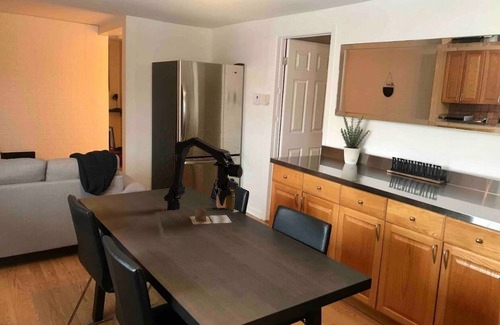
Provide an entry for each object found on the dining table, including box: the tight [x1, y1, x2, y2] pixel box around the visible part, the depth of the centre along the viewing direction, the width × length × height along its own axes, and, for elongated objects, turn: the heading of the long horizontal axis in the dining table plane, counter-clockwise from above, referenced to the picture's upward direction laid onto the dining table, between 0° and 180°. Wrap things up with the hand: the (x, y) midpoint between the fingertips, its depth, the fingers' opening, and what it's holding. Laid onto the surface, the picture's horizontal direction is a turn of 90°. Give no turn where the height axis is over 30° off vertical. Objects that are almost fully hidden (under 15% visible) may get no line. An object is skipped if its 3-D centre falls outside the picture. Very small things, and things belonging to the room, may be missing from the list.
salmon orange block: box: [215, 195, 226, 209], centre depth 205 cm, size 4×4×6 cm
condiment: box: [223, 188, 239, 213], centre depth 225 cm, size 7×8×12 cm
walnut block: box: [194, 208, 208, 222], centre depth 203 cm, size 5×5×5 cm
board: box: [189, 214, 233, 225], centre depth 205 cm, size 20×12×1 cm, turn 108°
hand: (220, 204), depth 205 cm, fingers closed on salmon orange block, 4 cm apart
